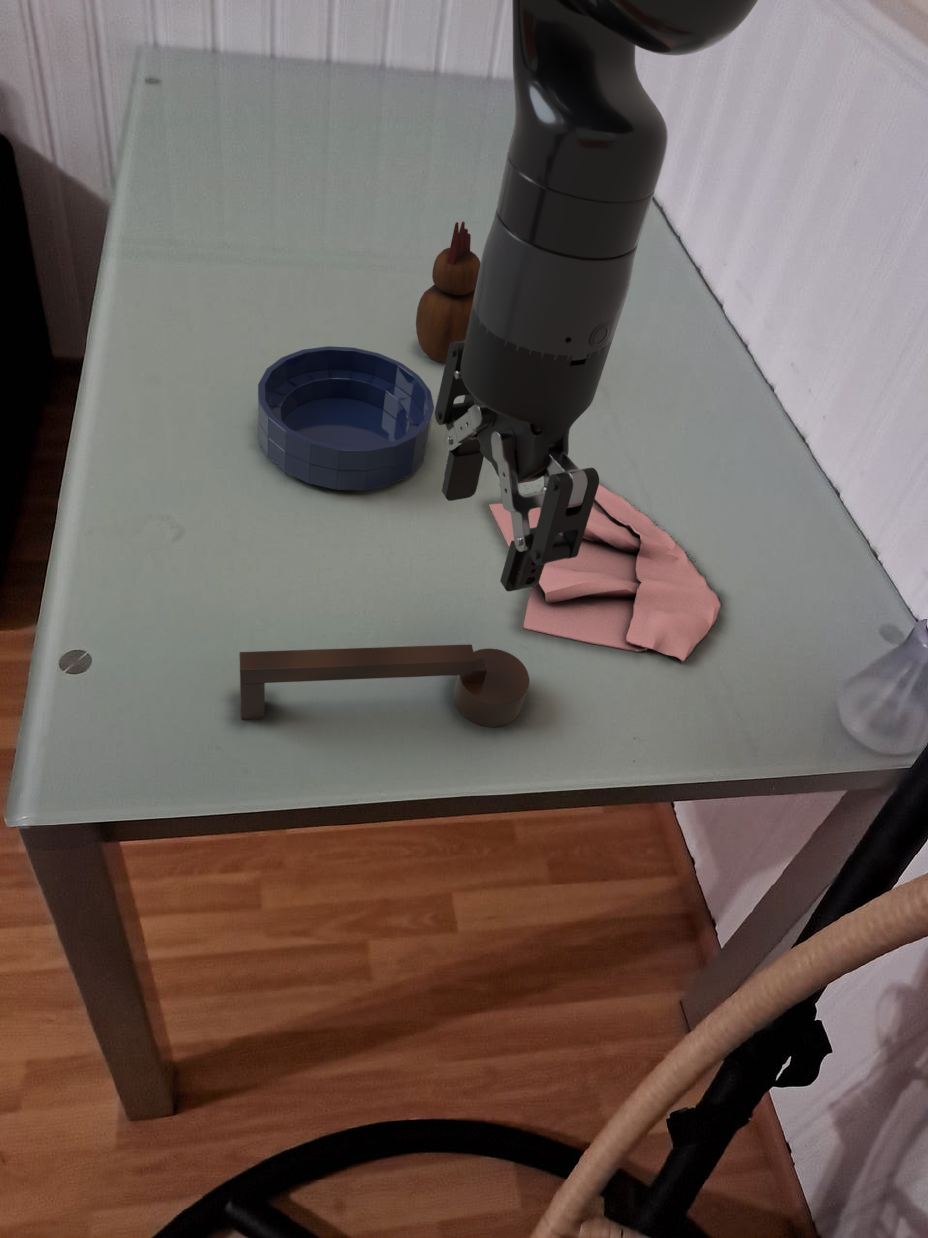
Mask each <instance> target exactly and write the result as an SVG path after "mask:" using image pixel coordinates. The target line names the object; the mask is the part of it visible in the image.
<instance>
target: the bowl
mask: <svg viewBox="0 0 928 1238" xmlns="http://www.w3.org/2000/svg"><path fill="white" fill-rule="evenodd" d="M434 414H435V404H434V399H433V395H432V391H431V390H430V388H429V387H428V386H427V384H426V383H425V381H424V380H423V379H422V378H421V376H420V375H419V374H417V373H416V372H415V371H413V370H412V369H411V368H409V367H408V366H406V365H405V364H403V363H402V362H400V361H398V360H397V359H394V358H391V357H389V356H386V355H384V354H382V353H380V352H376V351H371V350H367V349H363V348H359V347H352V346H351V347H350V346H331V345H330V346H328V345H327V346H321V347H320V346H319V347H318V346H317V347H311V348H305V349H300V350H298V351H295V352H292V353H289V354H287V355H284V356H282V357H280V358H279V359H278V360H277V361H274V363H272V364H271V365H270V366H268V367H267V368H266V369H265V371H264V373H263V374H262V376H261V377H260V380H259V382H258V384H257V432H258V437H257V438H258V442H259V444H260V447H262V449H263V451H264V453H265V455H266V456H267V458H268V459H269V460H271V461H272V462H273V463H274V464H275V465H276V466H278V467H279V468H280V469H281V470H282V471H283V472H285V473H286V474H288V475H290V476H293V477H295V478H296V479H298V480H300V481H303V482H305V483H307V484H309V485H313V486H314V485H315V486H319V487H323V488H328V489H331V490H332V489H333V490H338V491H367V490H373V489H377V488H382V487H386V486H391V485H394V484H395V483H398V482H399V481H401V480H403V479H406V478H407V477H410V476H411V475H412V474H413V473H414V472H415V471H416V470H417V469H418V468H419V467H420V466H421V464H422V463H423V462H424V461H425V458H426V454H427V451H428V447H429V444H430V438H431V437H430V436H431V430H432V425H433V424H432V423H433V418H434Z"/></svg>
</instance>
